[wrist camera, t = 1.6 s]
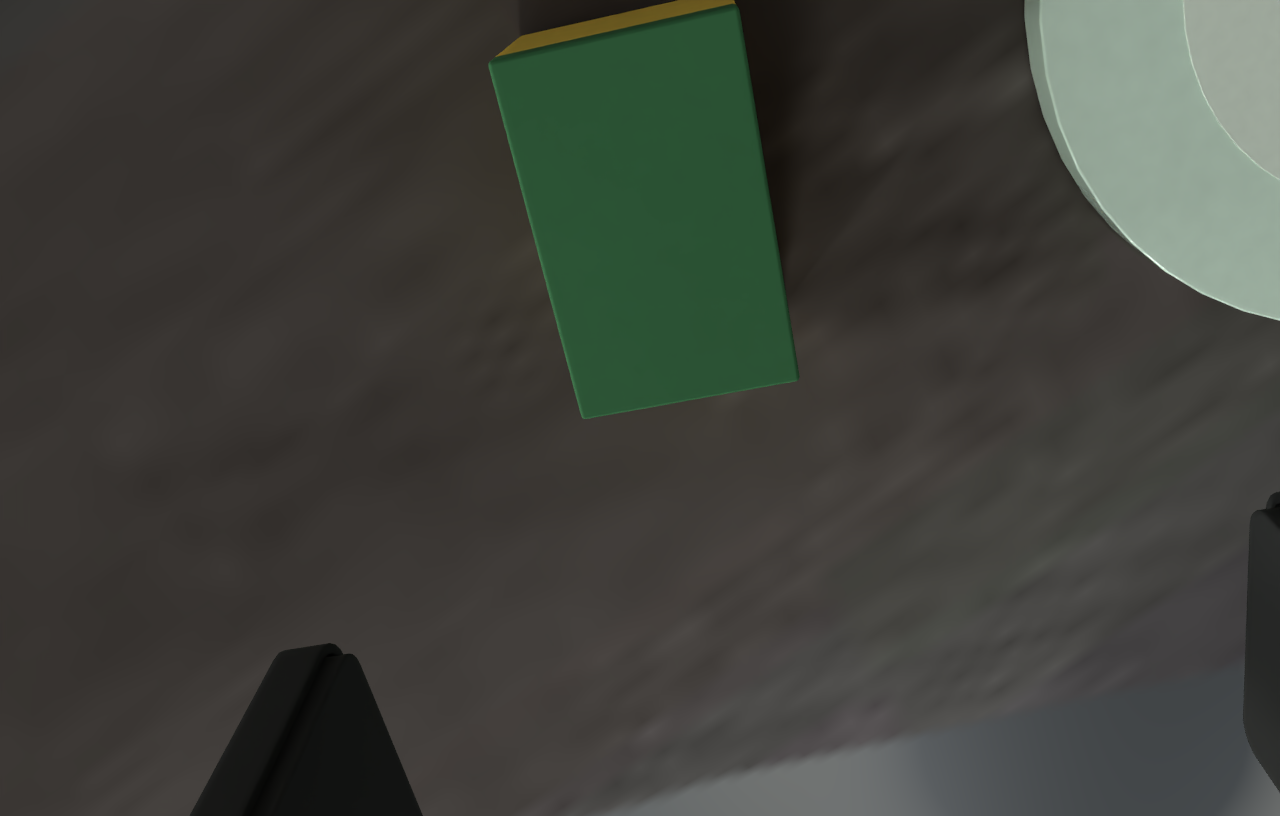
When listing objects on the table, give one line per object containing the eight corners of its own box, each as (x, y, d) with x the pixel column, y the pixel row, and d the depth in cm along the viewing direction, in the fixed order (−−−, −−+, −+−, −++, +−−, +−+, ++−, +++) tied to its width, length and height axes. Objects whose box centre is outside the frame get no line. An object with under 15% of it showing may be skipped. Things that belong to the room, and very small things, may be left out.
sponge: (518, 36, 25) (486, 62, 21) (728, -12, 24) (738, 5, 20) (595, 346, 28) (582, 421, 24) (782, 310, 27) (800, 381, 23)
